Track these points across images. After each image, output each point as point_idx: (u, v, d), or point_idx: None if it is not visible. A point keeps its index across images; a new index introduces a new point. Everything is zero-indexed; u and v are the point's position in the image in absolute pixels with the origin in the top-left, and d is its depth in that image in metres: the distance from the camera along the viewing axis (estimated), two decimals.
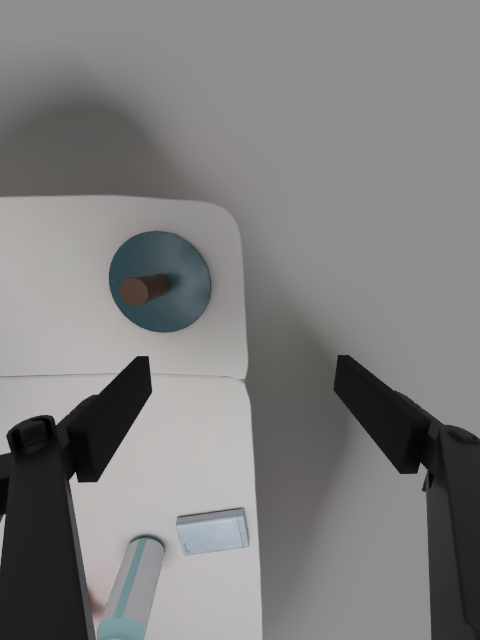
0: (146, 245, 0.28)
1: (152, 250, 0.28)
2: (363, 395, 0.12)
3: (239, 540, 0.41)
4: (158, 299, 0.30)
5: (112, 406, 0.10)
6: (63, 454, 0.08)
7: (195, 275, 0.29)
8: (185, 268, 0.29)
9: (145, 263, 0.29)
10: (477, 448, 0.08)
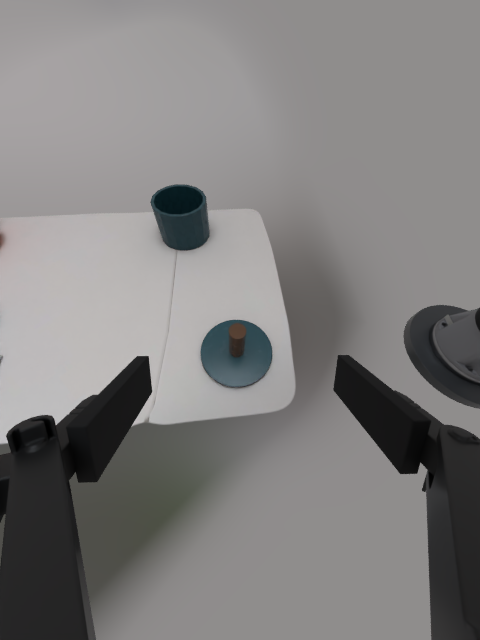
0: (262, 343, 0.42)
1: (259, 346, 0.42)
2: (363, 395, 0.12)
3: None
4: (226, 348, 0.41)
5: (112, 406, 0.10)
6: (63, 454, 0.08)
7: (244, 375, 0.39)
8: (249, 368, 0.40)
9: (250, 341, 0.42)
10: (477, 448, 0.08)
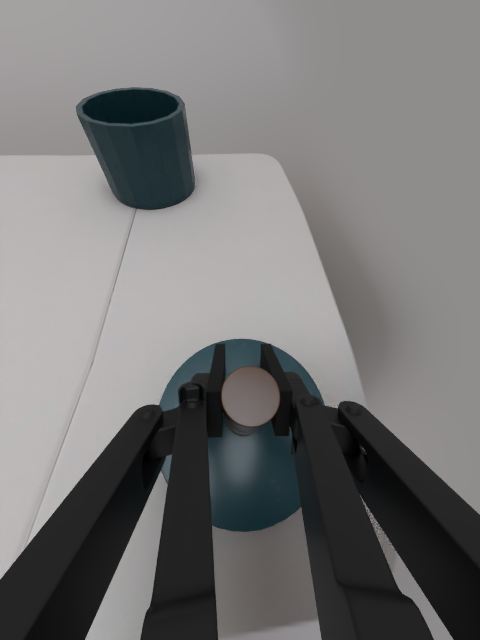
0: None
1: None
2: None
3: None
4: None
5: None
6: (207, 417, 0.10)
7: (264, 491, 0.15)
8: (276, 469, 0.16)
9: None
10: (318, 407, 0.10)
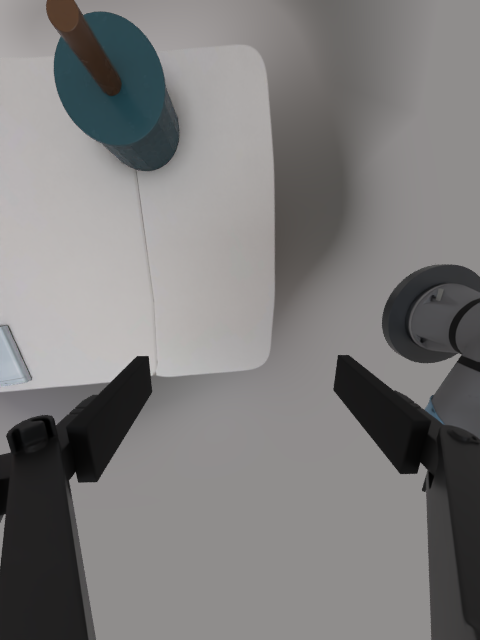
0: (149, 69, 0.27)
1: (145, 76, 0.27)
2: (363, 395, 0.12)
3: None
4: (93, 78, 0.27)
5: (112, 406, 0.10)
6: (63, 454, 0.08)
7: (125, 127, 0.29)
8: (131, 116, 0.28)
9: (130, 65, 0.27)
10: (477, 448, 0.08)
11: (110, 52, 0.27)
